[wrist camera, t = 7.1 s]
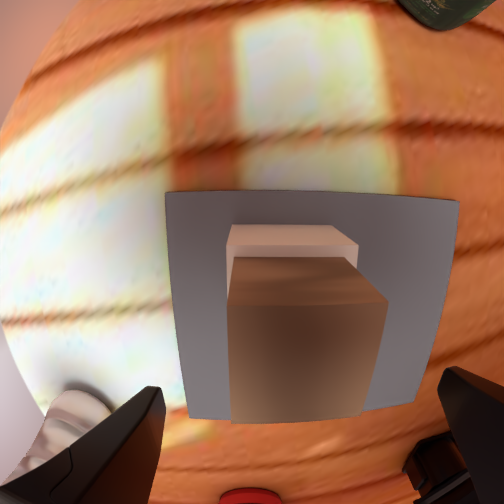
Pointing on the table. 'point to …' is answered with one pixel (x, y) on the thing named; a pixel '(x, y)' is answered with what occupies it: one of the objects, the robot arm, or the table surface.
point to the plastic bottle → (62, 428)
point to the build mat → (368, 264)
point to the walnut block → (300, 339)
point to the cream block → (287, 243)
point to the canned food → (250, 497)
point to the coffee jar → (445, 11)
